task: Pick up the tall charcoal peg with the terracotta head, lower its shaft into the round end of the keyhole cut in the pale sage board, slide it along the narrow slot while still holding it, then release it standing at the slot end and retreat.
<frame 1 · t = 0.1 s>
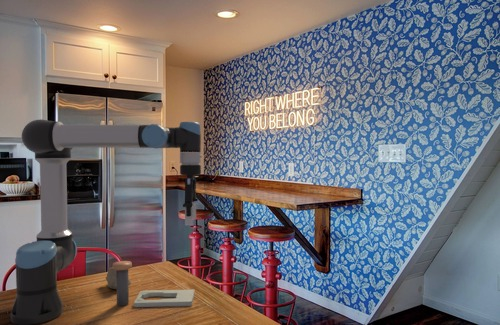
hand: (190, 221, 145), 28 cm above the table, fingers open, 13 cm apart
peg: (122, 304, 139), on the table
keyhole board: (165, 299, 143), on the table
decorative stone: (119, 287, 157), on the table
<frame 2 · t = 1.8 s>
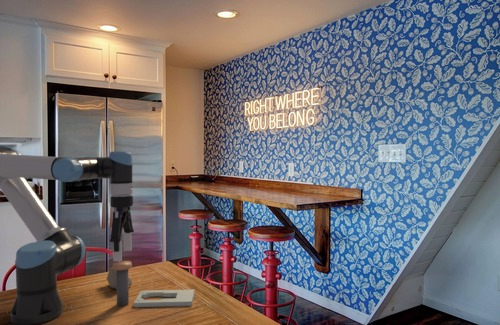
hand: (122, 255, 138), 17 cm above the table, fingers open, 13 cm apart
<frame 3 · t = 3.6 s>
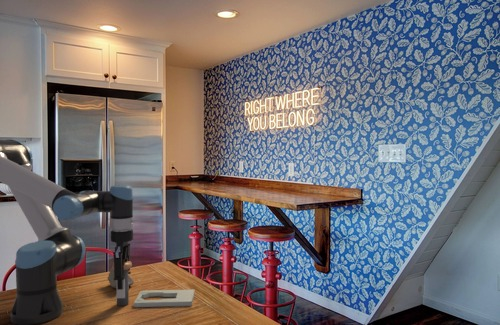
hand: (122, 295, 139), 3 cm above the table, fingers closed on peg, 4 cm apart
peg: (122, 304, 139), on the table, touching gripper
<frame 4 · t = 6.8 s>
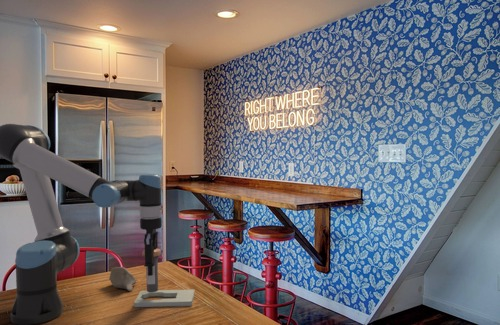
hand: (152, 281, 142), 7 cm above the table, fingers closed on peg, 4 cm apart
peg: (152, 290, 142), point 4 cm above the table, touching gripper
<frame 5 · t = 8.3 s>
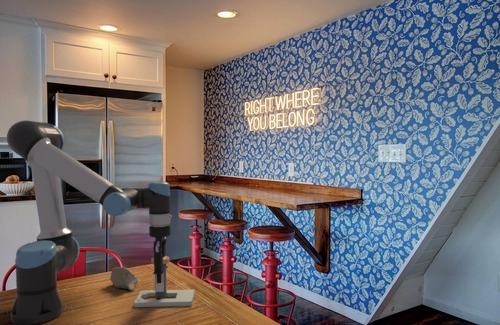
hand: (160, 289, 142), 4 cm above the table, fingers closed on peg, 4 cm apart
peg: (161, 297, 142), point 1 cm above the table, touching gripper
when the fingers open (4 cm above the table, at t = 9.8 s): peg stays where it is, resting in keyhole board.
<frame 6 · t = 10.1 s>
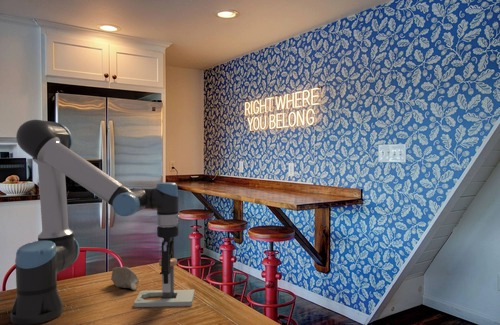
hand: (168, 287, 143), 4 cm above the table, fingers open, 8 cm apart
peg: (168, 299, 143), resting in keyhole board
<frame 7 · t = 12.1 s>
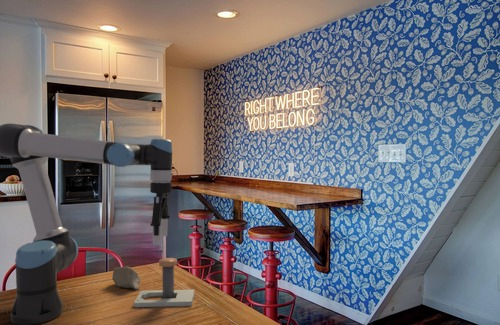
hand: (160, 240, 143), 22 cm above the table, fingers open, 13 cm apart
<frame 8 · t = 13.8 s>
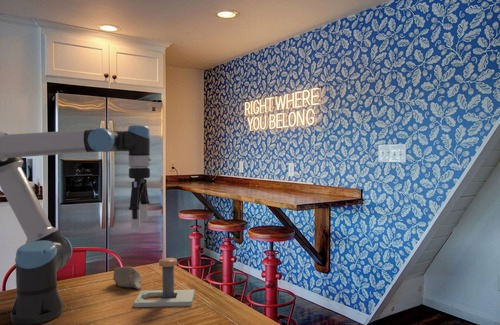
hand: (139, 224, 146), 27 cm above the table, fingers open, 13 cm apart
at the end: peg 0.8 cm from the target spot, resting in keyhole board; peg tilted 0°; the gripper is holding nothing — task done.
